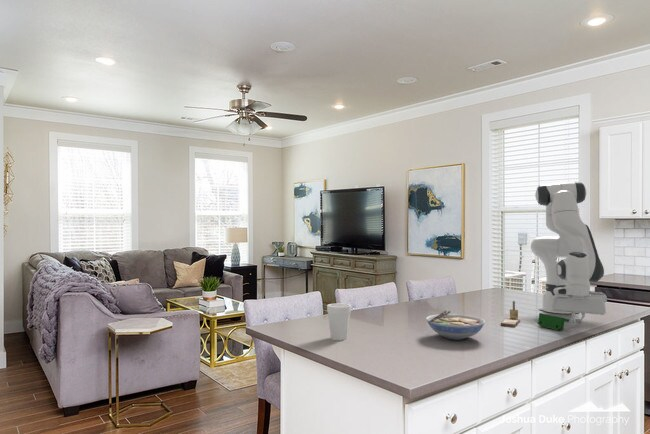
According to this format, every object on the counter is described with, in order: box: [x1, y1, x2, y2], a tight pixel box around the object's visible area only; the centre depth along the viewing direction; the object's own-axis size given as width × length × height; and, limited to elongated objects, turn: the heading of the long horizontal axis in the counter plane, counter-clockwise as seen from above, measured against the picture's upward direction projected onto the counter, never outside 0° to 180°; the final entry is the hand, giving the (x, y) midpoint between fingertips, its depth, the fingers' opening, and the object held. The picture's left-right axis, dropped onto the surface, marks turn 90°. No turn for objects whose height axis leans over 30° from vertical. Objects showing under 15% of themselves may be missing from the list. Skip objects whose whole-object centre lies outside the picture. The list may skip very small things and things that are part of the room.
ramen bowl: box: [425, 310, 486, 341], centre depth 184 cm, size 25×23×8 cm
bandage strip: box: [500, 317, 521, 328], centre depth 210 cm, size 13×6×1 cm, turn 149°
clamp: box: [537, 312, 570, 331], centre depth 202 cm, size 12×6×9 cm, turn 19°
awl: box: [509, 300, 519, 319], centre depth 218 cm, size 4×4×9 cm
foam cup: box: [326, 302, 352, 341], centre depth 183 cm, size 10×9×13 cm
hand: (578, 323), depth 197 cm, fingers closed
